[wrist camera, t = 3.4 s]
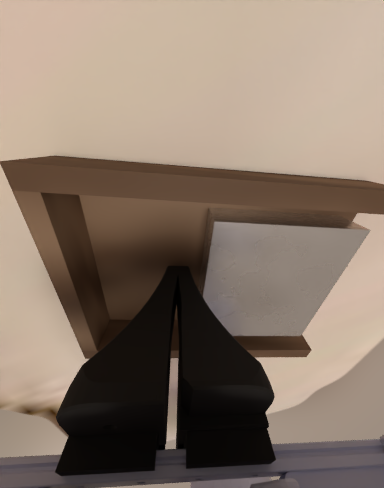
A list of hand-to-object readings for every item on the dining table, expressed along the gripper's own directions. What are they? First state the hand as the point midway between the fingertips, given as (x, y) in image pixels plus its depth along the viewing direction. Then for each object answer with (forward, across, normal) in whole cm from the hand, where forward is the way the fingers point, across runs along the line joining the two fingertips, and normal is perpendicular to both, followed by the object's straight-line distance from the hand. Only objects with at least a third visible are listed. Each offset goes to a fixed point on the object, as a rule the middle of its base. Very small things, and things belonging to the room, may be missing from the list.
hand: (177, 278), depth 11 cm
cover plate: (+1, -6, 0) cm, 6 cm away
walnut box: (+1, -2, 0) cm, 3 cm away
